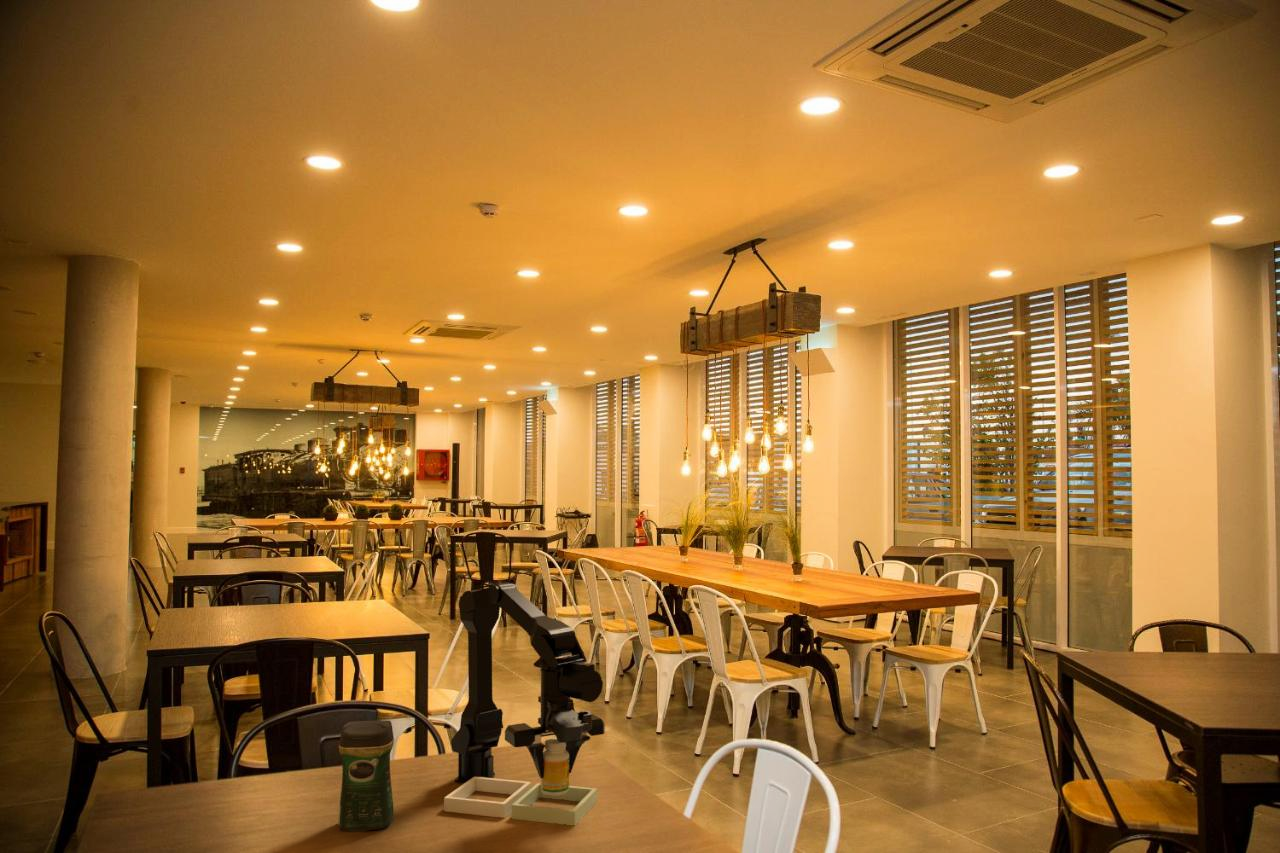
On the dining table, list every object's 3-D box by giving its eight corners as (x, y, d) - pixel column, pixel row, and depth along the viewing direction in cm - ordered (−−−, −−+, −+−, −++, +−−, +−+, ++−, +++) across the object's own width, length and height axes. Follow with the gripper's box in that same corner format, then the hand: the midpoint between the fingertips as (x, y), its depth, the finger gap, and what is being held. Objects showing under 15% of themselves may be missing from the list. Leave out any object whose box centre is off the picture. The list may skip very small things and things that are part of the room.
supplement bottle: (538, 788, 173) (538, 737, 173) (564, 785, 174) (565, 735, 175) (544, 797, 168) (545, 745, 168) (572, 794, 169) (572, 742, 170)
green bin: (511, 818, 166) (511, 804, 167) (537, 795, 178) (537, 782, 179) (575, 825, 163) (575, 811, 163) (597, 801, 175) (597, 788, 175)
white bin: (444, 811, 170) (444, 797, 170) (474, 789, 182) (474, 776, 182) (504, 817, 167) (504, 804, 167) (531, 794, 179) (531, 782, 179)
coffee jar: (396, 815, 168) (398, 715, 169) (388, 831, 160) (389, 726, 161) (344, 817, 167) (345, 716, 169) (333, 833, 160) (335, 728, 161)
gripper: (525, 708, 160) (525, 797, 160) (617, 696, 169) (617, 779, 169) (504, 695, 170) (503, 778, 169) (592, 684, 179) (591, 763, 178)
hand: (555, 775), depth 171 cm, fingers closed on supplement bottle, 5 cm apart
